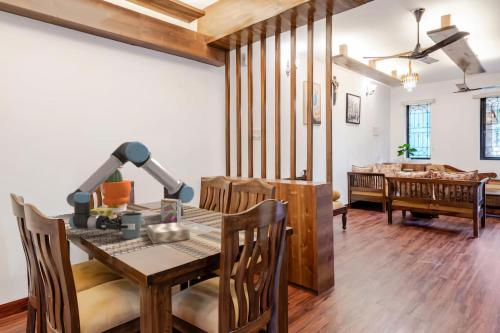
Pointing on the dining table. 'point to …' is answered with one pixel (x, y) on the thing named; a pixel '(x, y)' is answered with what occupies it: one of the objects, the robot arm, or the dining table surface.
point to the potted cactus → (115, 192)
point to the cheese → (102, 212)
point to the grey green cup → (131, 219)
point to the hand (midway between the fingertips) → (139, 224)
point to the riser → (167, 232)
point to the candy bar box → (170, 211)
